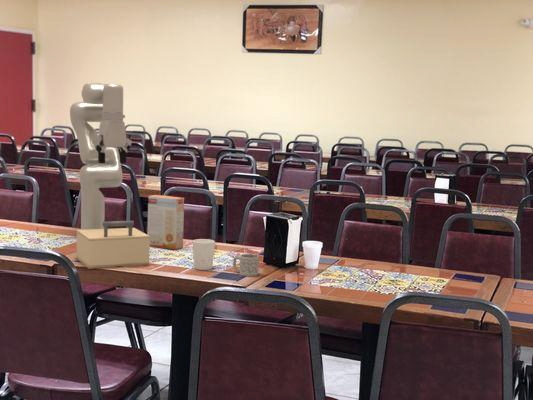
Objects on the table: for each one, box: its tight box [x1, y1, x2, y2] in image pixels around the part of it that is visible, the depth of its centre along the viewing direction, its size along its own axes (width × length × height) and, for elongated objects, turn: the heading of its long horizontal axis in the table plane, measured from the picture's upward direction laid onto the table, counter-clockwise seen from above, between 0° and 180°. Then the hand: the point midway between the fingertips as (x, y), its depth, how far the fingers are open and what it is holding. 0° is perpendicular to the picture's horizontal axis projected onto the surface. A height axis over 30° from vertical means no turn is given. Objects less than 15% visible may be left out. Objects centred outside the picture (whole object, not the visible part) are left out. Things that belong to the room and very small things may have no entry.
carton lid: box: [76, 220, 150, 240], centre depth 279 cm, size 18×22×6 cm
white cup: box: [192, 238, 216, 271], centre depth 276 cm, size 8×8×10 cm
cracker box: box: [147, 194, 185, 251], centre depth 311 cm, size 14×6×21 cm, turn 63°
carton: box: [75, 231, 151, 270], centre depth 280 cm, size 18×22×10 cm
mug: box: [232, 253, 260, 277], centre depth 271 cm, size 10×7×7 cm
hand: (112, 163), depth 289 cm, fingers open, 9 cm apart
